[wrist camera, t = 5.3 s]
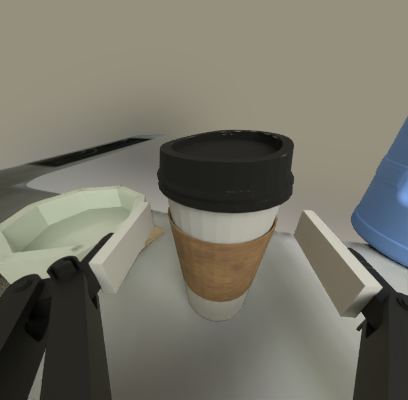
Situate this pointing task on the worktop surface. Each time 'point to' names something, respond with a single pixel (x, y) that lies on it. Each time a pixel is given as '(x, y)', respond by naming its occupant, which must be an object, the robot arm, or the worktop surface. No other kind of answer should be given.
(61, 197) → the bowl
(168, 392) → the worktop surface
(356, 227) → the water jug
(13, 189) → the worktop surface
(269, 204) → the coffee cup
